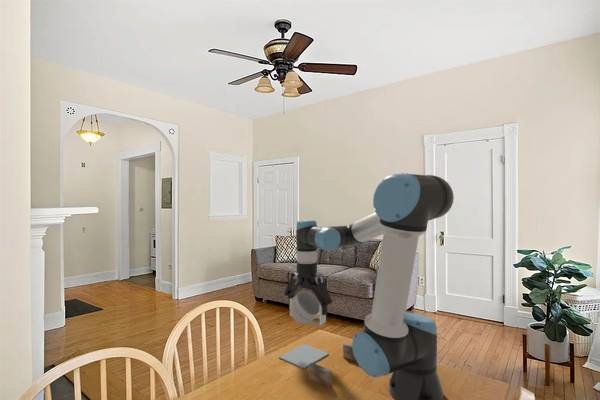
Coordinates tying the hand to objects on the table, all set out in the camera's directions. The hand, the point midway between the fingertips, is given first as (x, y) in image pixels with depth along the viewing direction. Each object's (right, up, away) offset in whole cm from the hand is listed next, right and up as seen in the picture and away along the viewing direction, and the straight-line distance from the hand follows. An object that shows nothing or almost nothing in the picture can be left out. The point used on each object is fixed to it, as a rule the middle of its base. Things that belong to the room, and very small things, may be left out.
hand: (307, 319), depth 124 cm
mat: (-1, -13, -1) cm, 13 cm away
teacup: (-3, 0, +1) cm, 3 cm away
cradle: (+10, -13, -11) cm, 20 cm away
